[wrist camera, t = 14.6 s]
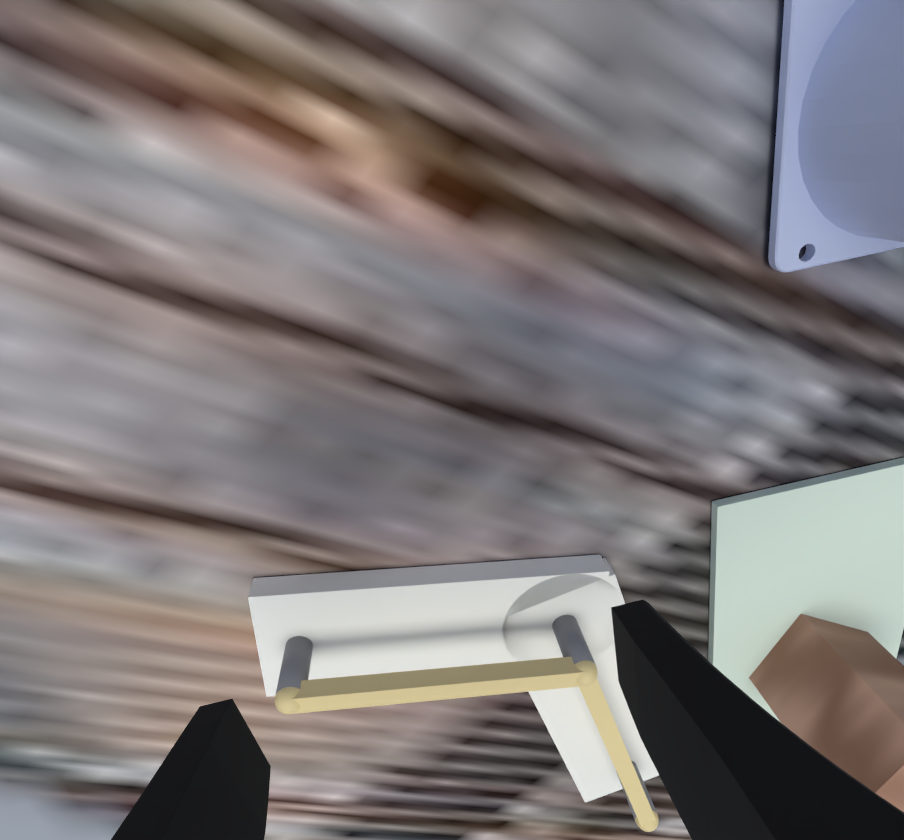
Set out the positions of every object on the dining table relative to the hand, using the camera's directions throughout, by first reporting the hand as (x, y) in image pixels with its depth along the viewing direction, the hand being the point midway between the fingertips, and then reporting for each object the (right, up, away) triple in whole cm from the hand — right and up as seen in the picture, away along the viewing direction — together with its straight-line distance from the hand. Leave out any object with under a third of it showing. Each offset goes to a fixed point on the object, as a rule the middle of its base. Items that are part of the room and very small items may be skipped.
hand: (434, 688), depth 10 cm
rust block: (+16, -6, +15) cm, 23 cm away
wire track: (+2, -7, +14) cm, 15 cm away
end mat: (+16, -5, +15) cm, 23 cm away
